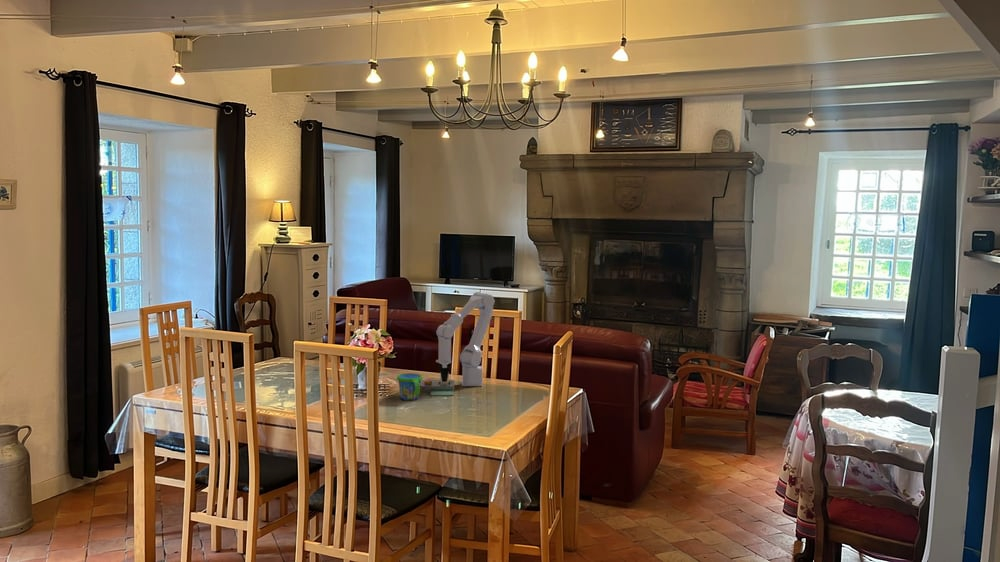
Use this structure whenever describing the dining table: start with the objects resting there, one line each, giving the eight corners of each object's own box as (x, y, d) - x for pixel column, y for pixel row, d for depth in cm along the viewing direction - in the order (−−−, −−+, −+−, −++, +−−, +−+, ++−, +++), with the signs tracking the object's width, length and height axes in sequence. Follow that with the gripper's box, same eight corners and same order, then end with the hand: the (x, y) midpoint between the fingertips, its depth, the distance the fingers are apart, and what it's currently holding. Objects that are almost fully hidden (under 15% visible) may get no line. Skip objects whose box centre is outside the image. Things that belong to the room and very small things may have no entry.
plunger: (432, 386, 340) (432, 379, 340) (431, 387, 337) (431, 381, 336) (424, 386, 340) (424, 379, 340) (424, 387, 336) (424, 381, 336)
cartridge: (448, 387, 341) (448, 368, 340) (448, 389, 337) (448, 370, 336) (440, 387, 341) (440, 368, 340) (440, 389, 337) (440, 370, 336)
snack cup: (427, 401, 314) (427, 378, 313) (403, 404, 310) (403, 380, 309) (415, 393, 328) (415, 371, 327) (392, 395, 323) (392, 373, 323)
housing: (454, 385, 345) (454, 380, 345) (454, 391, 333) (454, 386, 333) (421, 385, 344) (422, 380, 344) (421, 391, 332) (421, 386, 332)
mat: (453, 392, 331) (453, 391, 331) (453, 396, 325) (453, 394, 325) (430, 392, 330) (430, 391, 330) (430, 396, 324) (430, 394, 324)
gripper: (436, 348, 344) (436, 376, 345) (435, 354, 330) (435, 383, 331) (451, 348, 345) (451, 376, 346) (451, 354, 330) (451, 383, 331)
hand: (444, 380), depth 338 cm, fingers open, 5 cm apart
